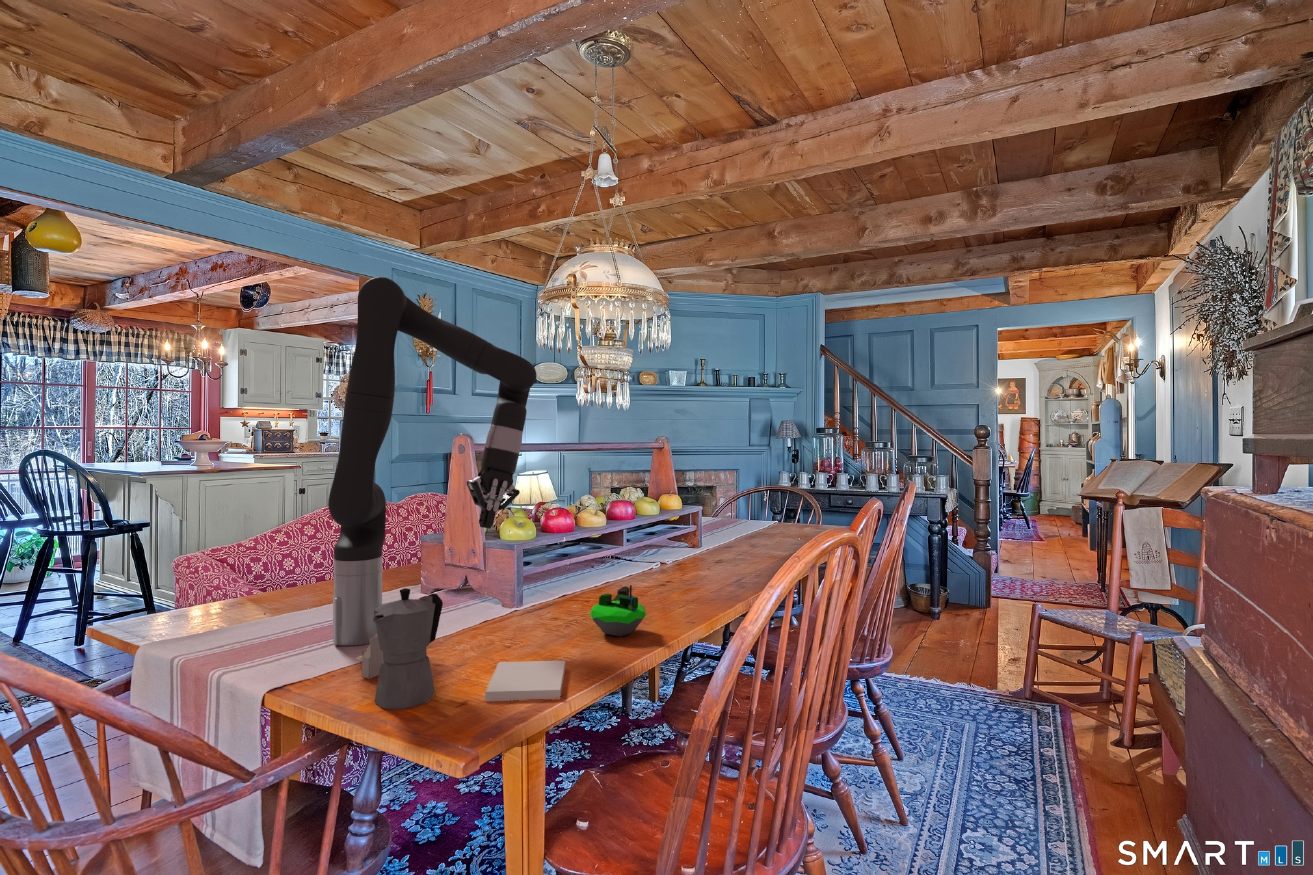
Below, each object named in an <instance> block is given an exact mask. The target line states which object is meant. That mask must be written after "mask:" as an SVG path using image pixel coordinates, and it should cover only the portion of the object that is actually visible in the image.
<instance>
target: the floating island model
mask: <svg viewBox="0 0 1313 875" xmlns="http://www.w3.org/2000/svg"><path fill="white" fill-rule="evenodd" d="M615 597H616V598H620V601H612V600H613V599H612V598H613V593H612V594H611V593H603V594H601V595H600V596H599V597H598V604H593V606H592V607H591V611H590V612H589V614H590V617H591V619H592V620H593V622H594V623H595V625H596V626H597V627H598V628H599V629H600V630H601V631H602V632H603V633H604V634H606V635H610V636H617V637H624V636H626V635H628V634H630V633H632V632H634V631H636V630H637V628H638V627H639V626H640V624H641V623H642V621H643V620H644V619H645V617H646V616H647V613H646V610H645V606H644V605H642V604H639V598H638V597H637V596H634V595H632V584H630V585H629V596H626V595H619V596H617V595H615Z"/></svg>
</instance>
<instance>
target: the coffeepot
mask: <svg viewBox="0 0 1313 875" xmlns="http://www.w3.org/2000/svg"><path fill="white" fill-rule="evenodd" d="M399 594H400V599H398V600H394V601H390V602H386V603H382V605H381V606H379V607H378V608H376V609H374V617H373V622H375V623H376V628H377V634H378V640H379V646H380V650H381V651H383V661H382V663H381V666H380V672H379V675H378V678H377V684H376V690H375V696H374V700H373V701H374V703H375V704H376V705H377V707H380V708H382V709H385V710H393V711H394V710H395V711H396V710H399V711H400V710H407V709H412V708H416V707H419V706H422V705H425V704H427V703H428V702H430V701H431V700H433V698H434V696H435V693H436V690H435V684H434V679H433V673H432V672H433V671H432V667H431V663H430V657H429V656H428V655H427V647H429V645H430V644H431V643H433V642H434V641H435V640H436V637H437V632H438V630H439V629H438V628H439V623H440V619H441V615H442V611H443V606H444V603H443V600H442V599H441V597H440V596H439V594H437V593H431V594H428V595H424V596H421V597H419V598H418V599H414V598H410V595H411V589H410V588H407V587H405V588H401V589H400V590H399Z"/></svg>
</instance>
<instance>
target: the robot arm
mask: <svg viewBox="0 0 1313 875" xmlns="http://www.w3.org/2000/svg"><path fill="white" fill-rule="evenodd" d="M356 321H357V324H356V342H355V347H354V352H353V356H352V360H351V364H350V369H349V375H348V380H347V384H346V390H345V398H344V406H343V415H342V424H341V432H340V433H341V434H340V441H339V444H340V445H339V453H338V458H337V463H336V468H335V472H334V477H333V480H332V483H331V486H330V491H329V496H328V506H327V508H328V512H329V515H330V516H331V518H332V520H333V521H334V522H335V523H336V524H338V525H339V526H340V531H339V536H338V539H337V541H336V543H335V544H334V547H333V593H332V640H333V639H334V640H333V642H334V646H335V645H339V646H361V645H365V644H370V639H371V638H373V637H375V635H376V633H377V628H376V623H375V622H373V617H374V609H376V608H378V607H379V606H381V605H382V604H383V546H384V542H385V539H386V526H387V525H386V522H387V521H386V519H387V503H386V500H387V499H386V495H385V493H384V491H383V489H382V488H381V486H380V485H379V484H377V482H375V469H376V468H375V467H376V462H377V458H378V455H379V452H380V449H381V447H382V444H384V443H383V442H384V441H385V438H386V436H387V433H388V430H389V428H390V424H391V420H392V417H393V410H394V403H395V392H396V369H395V368H396V365H395V347H396V346H395V345H396V339H397V336H398V332H400V333H403V334H406V335H408V336H410V337H412V338H415V339H417V340H418V341H421V342H423V343H425V344H426V345H428V346H430V347H432V348H433V349H436V350H437V351H439V352H440V353H441V354H444V355H445V356H447V357H449V358H450V359H452V360H453V361H456V362H457V363H459V364H461V365H463V366H465V367H467V368H469V369H470V370H473V372H476V373H478V374H481V375H488V376H490V377H492V378H494V379H496V380H498V381H499V384H498V391H497V396H496V397H497V398H496V400H497V401H496V404H495V408H494V410H493V413H492V414H493V415H492V418H491V423H490V427H489V430H488V433H487V436H486V439H485V445H484V449H483V453H482V457H481V461H480V470H479V472H477V477H474V478H473V479H468V480H467V481H466V486H467V488H468V490H469V493H470V496H471V498H472V501H473V504H474V505H475V506H478V507H480V509H481V510H480V515H479V518H478V524H479V528H484V529H491V528H492V526H493V525H494V522H495V518H496V514H497V512H498V511H500V510H501V511H502V510H503V511H504V510H506V508H507V507H508V506H509V505H510V504H511V503H512V502H513V501H514V500H515V499H516V498H517V497H518V496H519V495H520V490H519V489H517V488H516V487H515V486H514V484H513V483H514V474H515V473H516V471H517V465H518V461H519V456H520V451H521V447H522V443H523V432H524V428H525V423H526V419H527V403H528V400H529V399H528V398H529V394H530V392H531V391H530V390H531V388H532V387H533V386H534V384H535V383H536V380H537V371H536V368H535V366H534V365H533V364H532V363H531V362H530V361H529V360H527V359H526V358H523V357H522V356H520V355H518V354H516V353H513V352H511V351H508V350H506V349H503V348H501V347H498V346H496V345H494V344H493V343H491V342H489V341H488V340H486V339H484V338H482V337H480V336H479V335H476V334H475V333H472V332H471V331H469V330H467V329H465V328H463V327H460V326H458V325H456V324H453V323H451V322H449V321H447V320H444V319H441V318H440V317H438V316H436V315H434V314H432V313H430V312H429V311H427V310H425V309H424V308H422V307H421V306H419V305H418V304H417V303H416V302H414V301H412V299H410V298H409V297H407V295H406V294H405V292H404V291H403V289H402V288H401V286H400V285H399V284H398V283H397V282H395V281H394V280H393V279H390V278H388V277H385V276H376V277H372V278H370V279H368V280H367V281H366V282H364V283H363V284H362V285H361V287H360V288H359V290H358V293H357V320H356Z"/></svg>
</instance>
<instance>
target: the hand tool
mask: <svg viewBox="0 0 1313 875" xmlns="http://www.w3.org/2000/svg"><path fill="white" fill-rule="evenodd" d="M619 595H626V596H630V587H628V586H626V585H625V586H622V587H621V588H619V589H618V590H617V593H616V596H619ZM616 596H614V598H613V599H612V601H620V598H616Z"/></svg>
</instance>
